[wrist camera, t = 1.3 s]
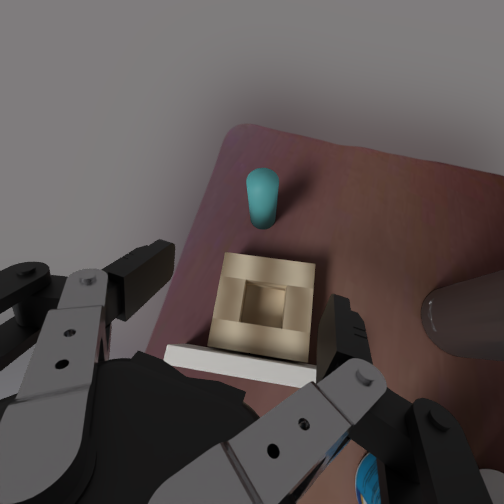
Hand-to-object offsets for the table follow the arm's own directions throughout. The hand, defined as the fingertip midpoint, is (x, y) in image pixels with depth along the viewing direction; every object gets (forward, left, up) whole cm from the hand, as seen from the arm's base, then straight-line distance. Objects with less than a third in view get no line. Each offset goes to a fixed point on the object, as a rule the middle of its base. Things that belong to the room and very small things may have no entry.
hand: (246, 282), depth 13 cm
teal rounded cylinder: (+1, -16, -25) cm, 29 cm away
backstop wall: (-1, +6, -25) cm, 25 cm away
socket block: (-1, -2, -25) cm, 25 cm away
